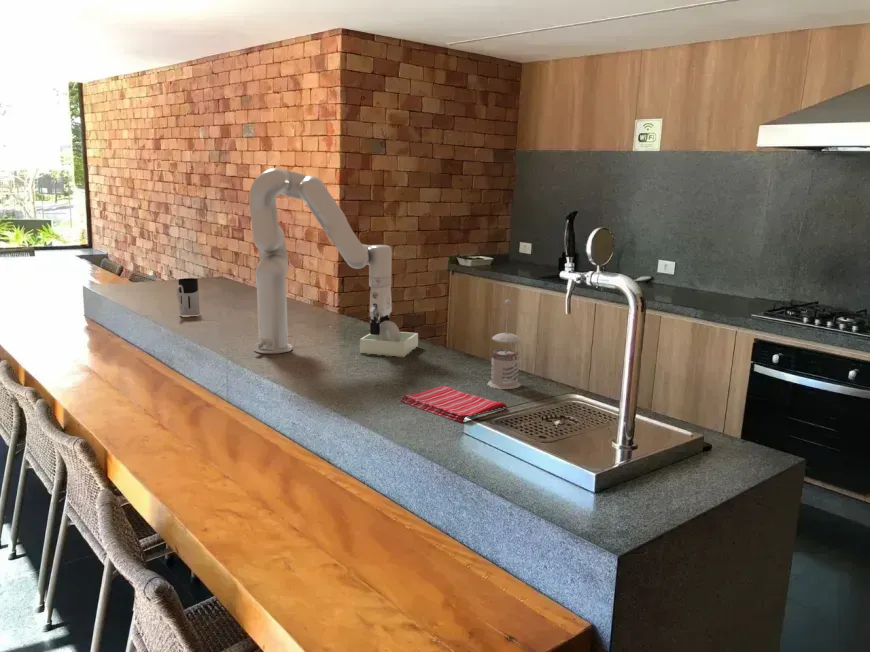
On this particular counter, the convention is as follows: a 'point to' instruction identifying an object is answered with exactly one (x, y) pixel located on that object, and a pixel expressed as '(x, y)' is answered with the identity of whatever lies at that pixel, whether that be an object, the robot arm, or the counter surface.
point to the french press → (505, 361)
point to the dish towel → (451, 403)
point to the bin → (389, 345)
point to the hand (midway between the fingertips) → (379, 331)
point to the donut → (392, 330)
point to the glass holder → (188, 296)
